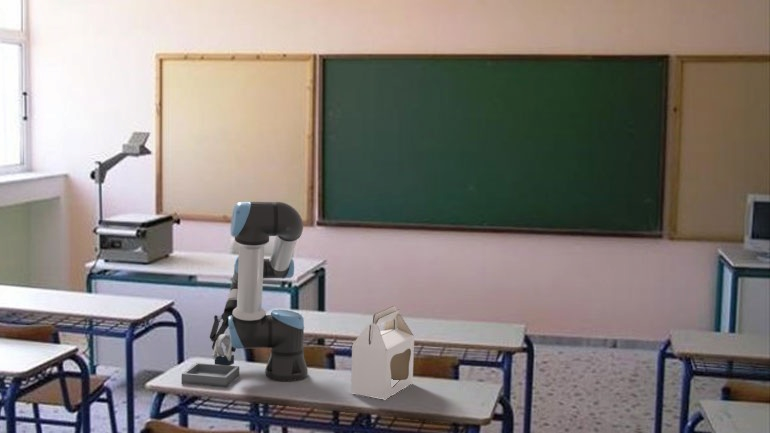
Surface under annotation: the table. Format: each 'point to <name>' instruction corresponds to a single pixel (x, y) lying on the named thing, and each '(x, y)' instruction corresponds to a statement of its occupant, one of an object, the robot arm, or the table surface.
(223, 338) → the watch
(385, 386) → the gable box
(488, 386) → the table surface
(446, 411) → the table surface
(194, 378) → the tray
